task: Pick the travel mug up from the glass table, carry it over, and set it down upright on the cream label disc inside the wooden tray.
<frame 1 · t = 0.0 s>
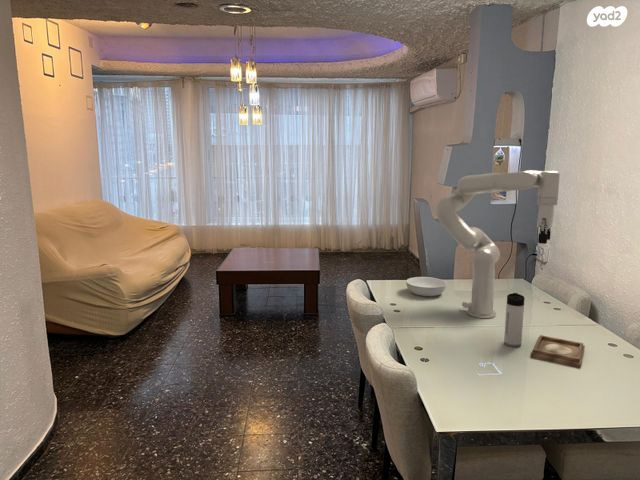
hand: (544, 241, 194), 37 cm above the table, tool pointing down, fingers open, 9 cm apart
serving bowl: (425, 294, 245), on the table
wooden tray: (557, 353, 172), on the table
travel mug: (512, 344, 180), on the table
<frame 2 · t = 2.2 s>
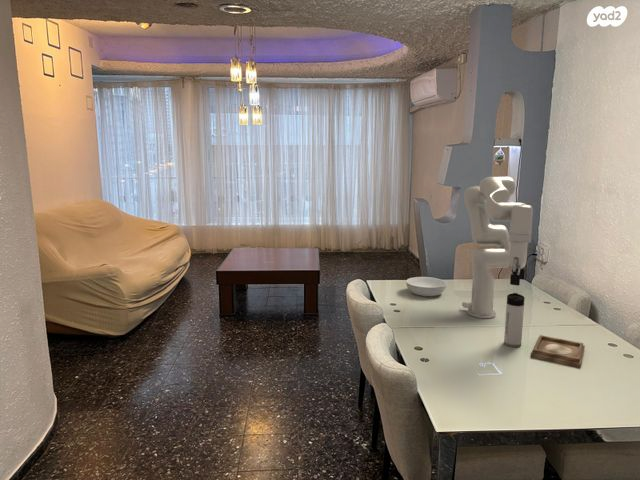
hand: (517, 281, 175), 25 cm above the table, tool pointing down, fingers open, 9 cm apart
nothing on the table moved.
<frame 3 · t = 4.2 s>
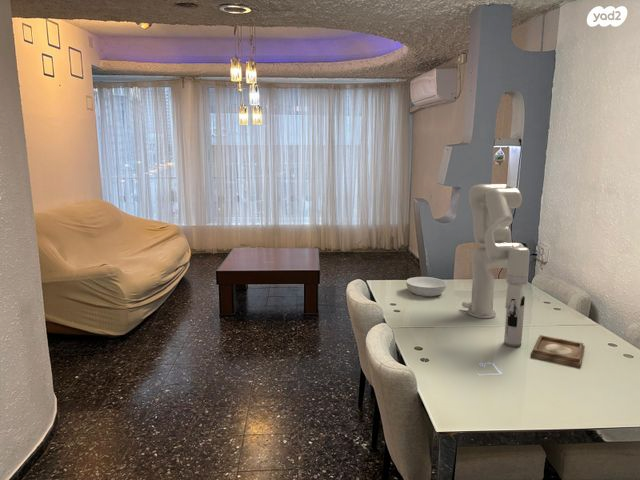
hand: (514, 323, 179), 9 cm above the table, tool pointing down, fingers closed on travel mug, 6 cm apart
travel mug: (512, 344, 180), on the table, touching gripper
everything else where it was.
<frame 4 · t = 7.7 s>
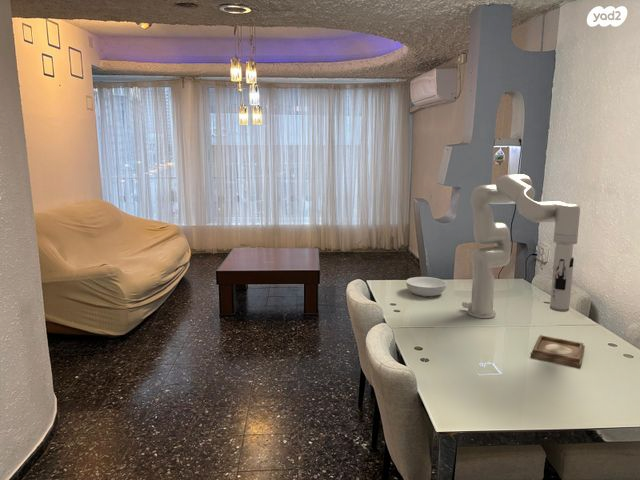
hand: (561, 286, 167), 26 cm above the table, tool pointing down, fingers closed on travel mug, 6 cm apart
travel mug: (559, 309, 169), point 17 cm above the table, touching gripper
everything else where it was.
when the fingers open (12 cm above the table, at t = 11.3 s): travel mug drops 1 cm, resting on wooden tray.
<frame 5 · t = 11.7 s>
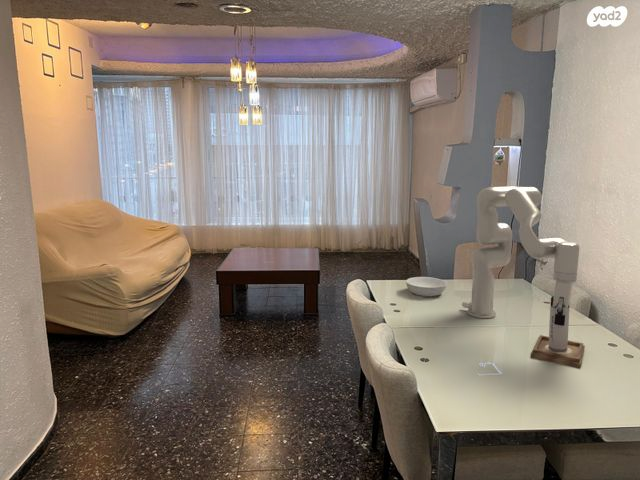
hand: (560, 320, 169), 13 cm above the table, tool pointing down, fingers open, 9 cm apart
travel mug: (557, 349, 172), point 2 cm above the table, touching wooden tray
everything else where it was.
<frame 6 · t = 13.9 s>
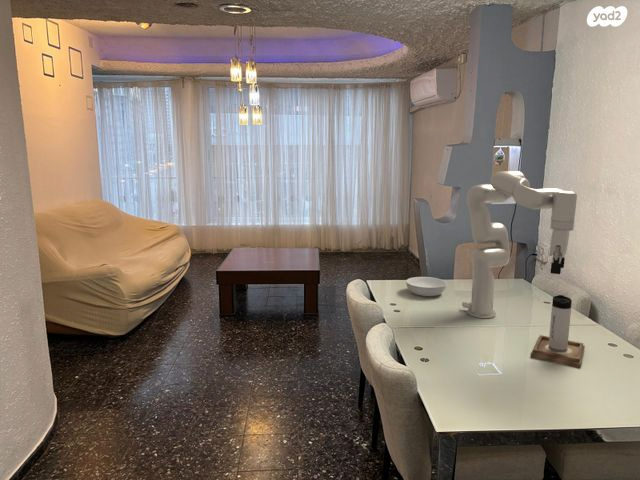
hand: (557, 270, 170), 31 cm above the table, tool pointing down, fingers open, 9 cm apart
nothing on the table moved.
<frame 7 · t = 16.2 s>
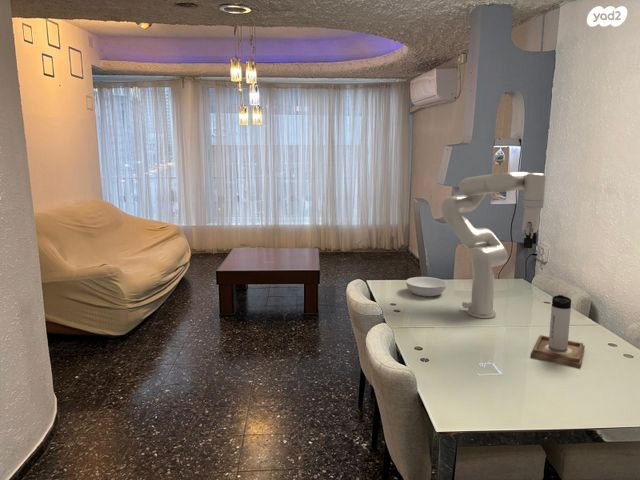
hand: (529, 245, 188), 36 cm above the table, tool pointing down, fingers open, 9 cm apart
nothing on the table moved.
at the end: travel mug inside the target area on the wooden tray (0.3 cm from its centre), point 1.4 cm above the wooden tray's base; travel mug tilted 0°; the gripper is holding nothing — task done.
